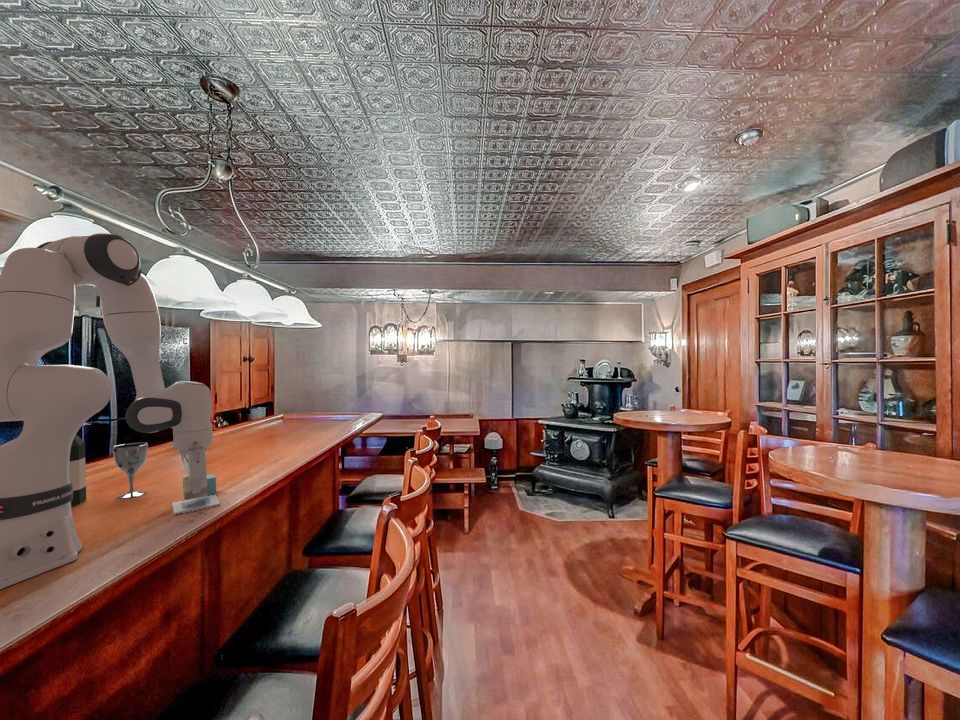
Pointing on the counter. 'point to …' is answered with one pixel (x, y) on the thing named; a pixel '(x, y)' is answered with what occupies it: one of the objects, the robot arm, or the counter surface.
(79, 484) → the wine bottle
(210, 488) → the teal block
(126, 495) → the wine glass
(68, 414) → the robot arm
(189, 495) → the off-white block
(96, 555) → the counter surface
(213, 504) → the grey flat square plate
